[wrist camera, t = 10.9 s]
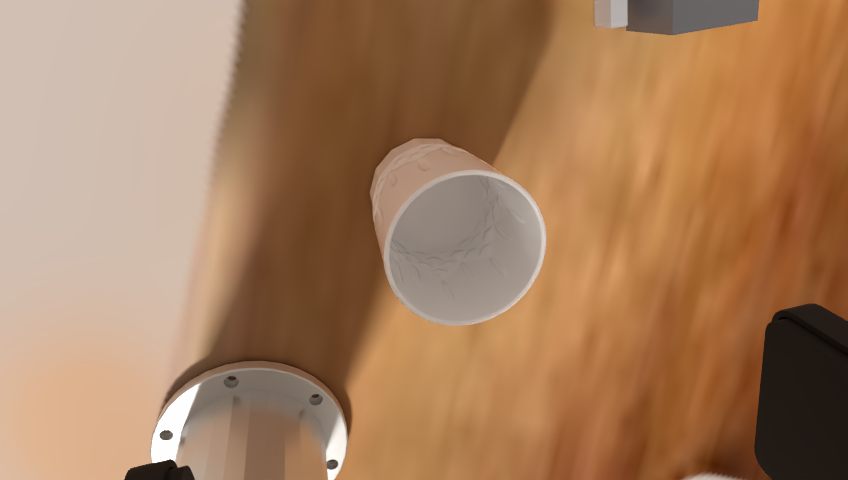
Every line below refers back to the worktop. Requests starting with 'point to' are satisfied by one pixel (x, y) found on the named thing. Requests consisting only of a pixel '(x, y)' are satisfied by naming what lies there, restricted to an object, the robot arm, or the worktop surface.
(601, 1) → the pink two-prong plug
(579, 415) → the worktop surface
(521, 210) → the white cup
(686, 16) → the gray rectangular box
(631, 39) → the worktop surface
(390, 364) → the worktop surface
